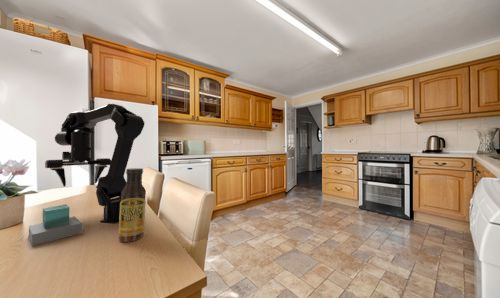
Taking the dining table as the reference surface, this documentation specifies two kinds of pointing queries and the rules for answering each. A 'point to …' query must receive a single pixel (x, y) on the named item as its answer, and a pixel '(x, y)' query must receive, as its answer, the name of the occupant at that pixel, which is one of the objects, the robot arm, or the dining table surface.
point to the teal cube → (55, 216)
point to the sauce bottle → (132, 207)
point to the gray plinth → (54, 231)
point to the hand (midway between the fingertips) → (80, 184)
